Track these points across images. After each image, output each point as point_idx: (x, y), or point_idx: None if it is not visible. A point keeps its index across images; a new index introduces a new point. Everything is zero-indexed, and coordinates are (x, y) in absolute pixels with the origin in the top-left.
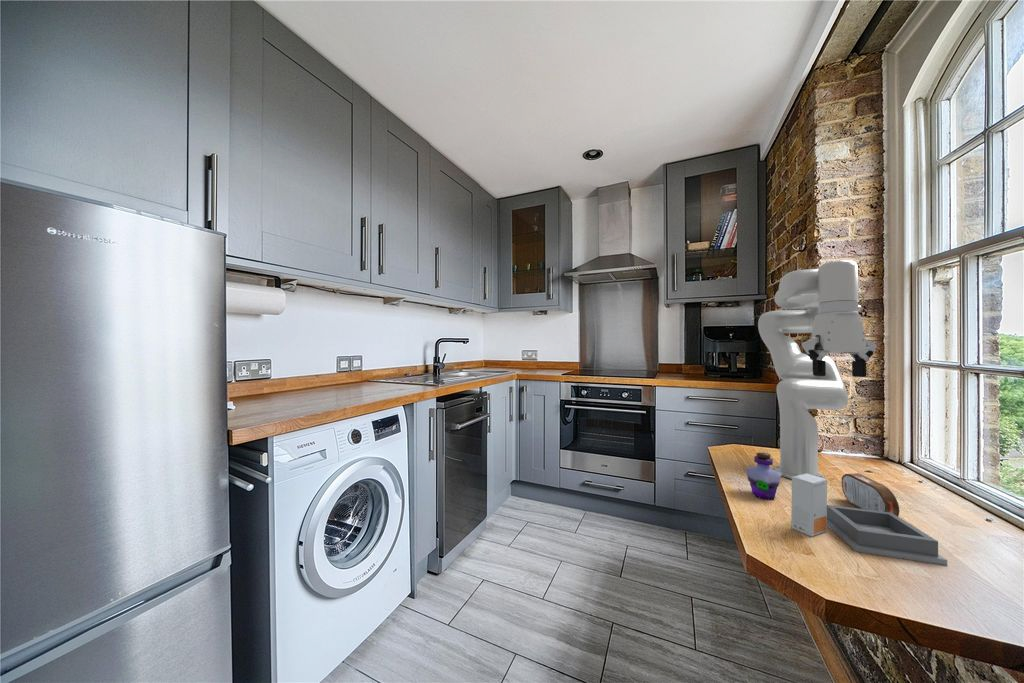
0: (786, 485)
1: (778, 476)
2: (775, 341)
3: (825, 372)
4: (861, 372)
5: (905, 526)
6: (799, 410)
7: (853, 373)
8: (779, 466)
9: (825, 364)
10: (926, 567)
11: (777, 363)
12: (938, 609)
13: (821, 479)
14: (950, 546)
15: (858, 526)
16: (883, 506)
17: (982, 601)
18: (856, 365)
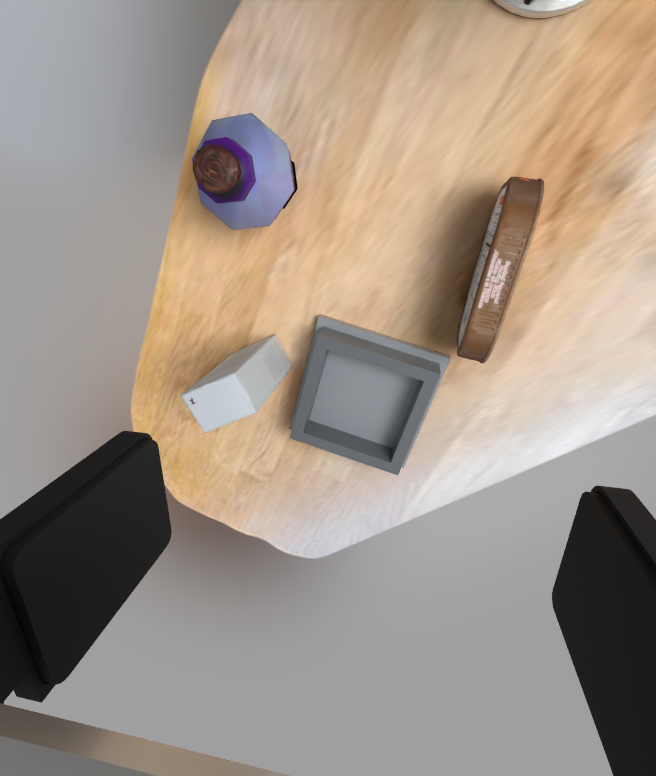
0: (406, 65)
1: (262, 225)
2: None
3: (153, 561)
4: (570, 628)
5: (406, 422)
6: None
7: (594, 522)
8: None
9: (91, 644)
10: (362, 464)
11: None
12: (284, 525)
13: (241, 413)
14: (488, 417)
15: (303, 425)
16: (459, 343)
17: (354, 521)
18: (637, 671)
